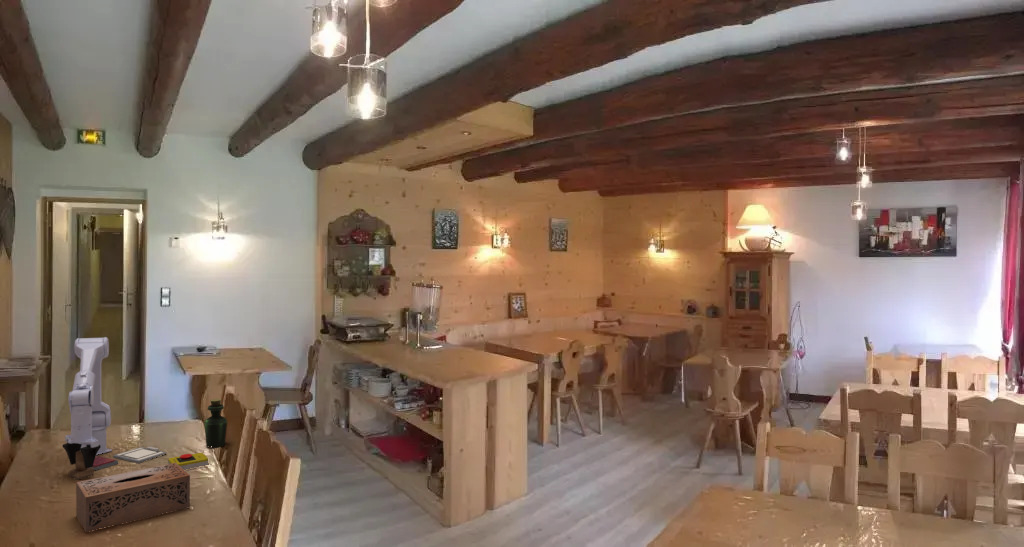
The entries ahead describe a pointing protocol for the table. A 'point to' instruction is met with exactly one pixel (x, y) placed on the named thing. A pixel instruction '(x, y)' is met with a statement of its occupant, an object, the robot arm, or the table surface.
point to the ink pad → (103, 462)
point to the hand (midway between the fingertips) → (81, 465)
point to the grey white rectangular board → (139, 454)
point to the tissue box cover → (131, 496)
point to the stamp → (80, 468)
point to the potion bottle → (215, 425)
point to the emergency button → (189, 460)
